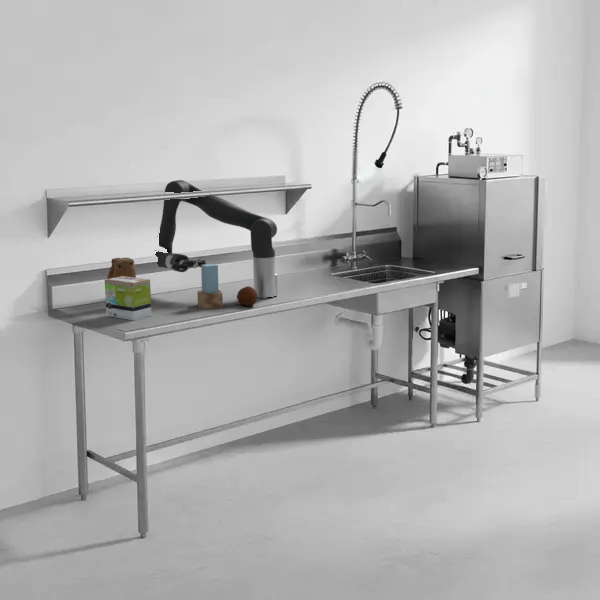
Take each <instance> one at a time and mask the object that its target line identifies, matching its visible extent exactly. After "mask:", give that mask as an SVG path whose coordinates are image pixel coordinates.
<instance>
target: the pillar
mask: <svg viewBox="0 0 600 600" xmlns="http://www.w3.org/2000/svg"><path fill="white" fill-rule="evenodd" d="M200 268H201V269H200V270H201V273H200V274H201V275H200V277H201V291H202V292H204V293H207V294H208V293H218V290H219V265H218V264H215V263H206V264H205V265H201V267H200Z"/></svg>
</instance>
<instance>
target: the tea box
mask: <svg viewBox="0 0 600 600" xmlns="http://www.w3.org/2000/svg"><path fill="white" fill-rule="evenodd" d="M104 291H105V292H104V293H105V296H104V297H105V309H106V310H105V313H106V317H110V318H117V319H118V318H119V319H124V320H129V321H133V320H135V321H138V320H142V319H146V318H150V317H152V297H151V296H152V295H151V293H152V292H151V279H149V278H148V279H147V278H141V277H136V278H134V277H126V276H120V277H116V278H111V279H107V278H106V279H104Z"/></svg>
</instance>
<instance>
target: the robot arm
mask: <svg viewBox="0 0 600 600" xmlns="http://www.w3.org/2000/svg"><path fill="white" fill-rule="evenodd" d="M193 191H203V190H202V189H199V188H198V187H196V186H194V185H193V184H191V183H189V182H187V181H186V180H183V179H178V180H173V181H170V182H168V183H167V184H166V186H165V189H164V193H165V192H174V193H181V192H193ZM181 202H183V203H186V204H190V205H193V206H195V207H197V208H198V209H200V210H201V211H203V212H204V213H205V214H206V215H207V216H208V217H210V218H212V219H214V220H216V221H219V222H221V223H223V224H225V225H231V226H235V227H240V228H243V229H246V230H247V231H249V232H250V246H251V251H252V255H253V256H252V261H253V262H252V264H253V265H252V267H253V289H255V291H256V292H257V297H258V298H257V299H267V298H266V297H273V298H275V297H274V296H276V297H278V296H277V295H278V274H277V273H276V250H275V249H274V248H273V241H272V238H274V237H275V236H277V235H276V234H277V233H278V227H277V224H276V223H275V222H274V221H273V220H272V219H271V218H269V217H266V216H262V215H259V214H255V213H254V212H253V213H252V212H250V211H248V210H246V209H245V208H243V207H241V206H238V205H236V204H235V203H232V202H231V201H228V200H226V199H223V198H222V197H219V196H217V195H214V194H212V195H209V196H205V197H198V198H190V199H170V200H164V199H163V209H162V216H161V222H160V225H159V226H160V227H159V229H160V233H159V232H158V233H159V247H161V248H165V249H167V252H168V253H163V252H159V251H160V250H157V251H158V252H156V254H155V255H156V256H157V257H158V262H157V264H158V266H159V267H158V268H163V269H167V270H171V271H174V272H178V273H184V272H187V271H188V270H189V269H198V268H201V265H205V264H207V262H206V260H205V259H191V258H190V257H188V256H187V255H186V254H183V253H175V252H174V253H173V243H174V239H175V236H176V231H177V222H176V220H177V218H176V217H177V216H176V215H177V211H178V208H179V205H180V203H181Z"/></svg>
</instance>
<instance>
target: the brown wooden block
mask: <svg viewBox="0 0 600 600" xmlns="http://www.w3.org/2000/svg"><path fill="white" fill-rule="evenodd" d="M196 294H197V307H199V310H203V309H204V310H205V309H207V310H208V309H222V308H221V307H224V306H223V305H224V303H223V301H224V300H223V299H224V298H223V292H222V291H221V290H220V289H218V293H208V294H207V293H204V292H202V290H197V293H196Z"/></svg>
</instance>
